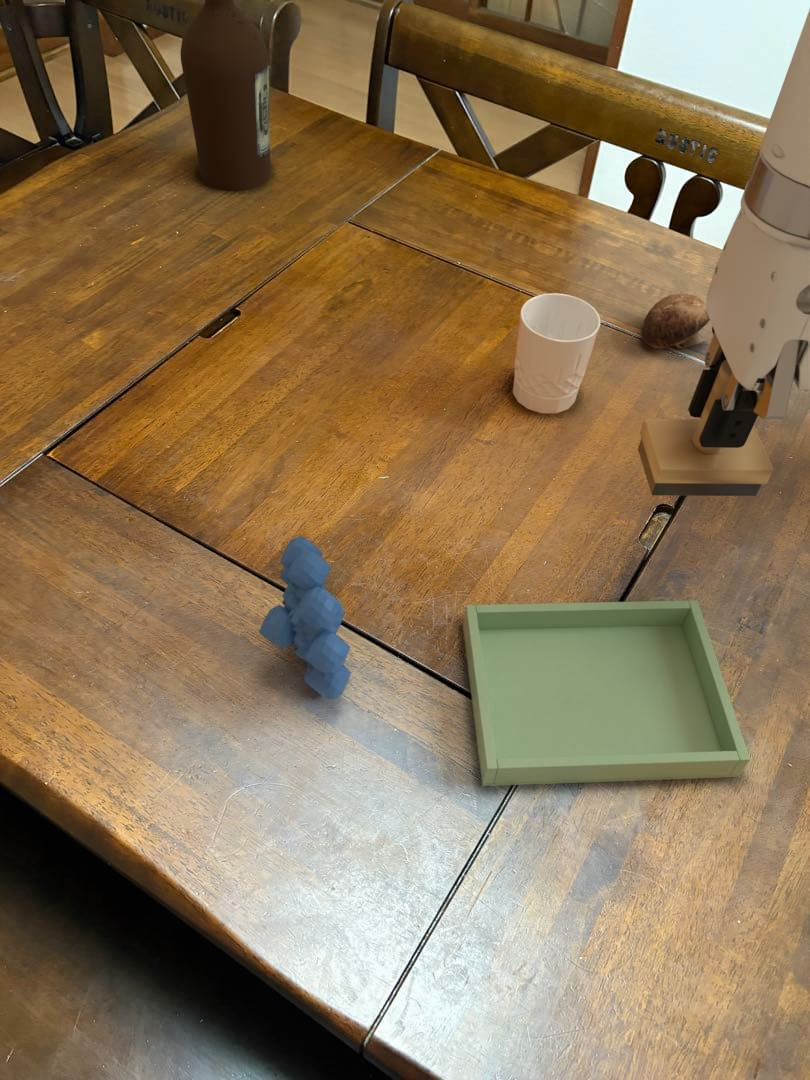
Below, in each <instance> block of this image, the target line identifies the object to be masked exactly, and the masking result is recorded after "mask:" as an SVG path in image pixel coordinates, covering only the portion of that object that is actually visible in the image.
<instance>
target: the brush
mask: <svg viewBox="0 0 810 1080" xmlns="http://www.w3.org/2000/svg"><path fill="white" fill-rule="evenodd" d="M731 373H732V370H731V368H730V366H729V364H728V361H727V359H726V360H725V361H723V362H722V364H721V367H720V369H719V372H718V374H717V377H716V379H715V382H714V384H713V387H712V389H711V392H710V394H709V397H708V399H707V402H706V404H705V407H704V409H703V412H702V414H701V417H700V418H644V419H643V422H642V425H641V428H640V431H639V435H640V438H641V439H640V441H639V444H638V447H637V450H638V455H639V457H640V460H641V465H642V467H643V471H644V474H645V478H646V481H647V484H648V487H649V491H650V494H651V496H681V497H682V496H683V497H684V496H686V497H687V496H688V497H689V496H693V497H694V496H695V497H697V496H698V497H699V496H701V497H704V496H705V497H727V496H728V497H757V495H758V493H759V491H760V489H761V487H762V485H767V484H768V482H769V480H770V478H771V476H772V474H773V472H774V468H773V465H772V463H771V461H770V459H769V455H768V454H767V451H766V449H765V447H764V444H763V441H762V440H761V437H760V435H759V433H758V431H757V428H756V426H755V424H754V426H753V428H752V430H751V432H750V434H749V436H748V439H747V441H746V443H745V445H744V446H742V447H740V448H714V447H702V446H701V444H700V441H699V438H700V436H701V433H702V431H703V428H704V426H705V424H706V421H707V419H708V416H709V414H710V411H711V409H712V406H713V404H714V401H715V400H718V399H722V397H723V394H724V391H725V389H726V386H727V384H728V381H729V378H730V376H731ZM746 390H749V389H746V388H745V387H743V389H742V391H746Z"/></svg>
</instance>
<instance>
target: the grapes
mask: <svg viewBox="0 0 810 1080" xmlns="http://www.w3.org/2000/svg"><path fill="white" fill-rule="evenodd" d="M323 555H324V552H323V551H322V550H321V549H320V548H319V547H318V546H317V545H316V544H314V543H313V542H312V541H311V540H309V539H308V538H306V537H304V536H301V535H298V536H296V537H295V538H293V539H291V540H290V541H289V542H288V544H287V546H286V547H285V549H284V551H283V554H282V556H281V559H280V561H279V563H280V564H281V565H282V566H283V568H282V571H281V573H280V576H279V579H280V580H282V581H283V582H284V584H285V585H287V586H286V588H285V590H284V592H283V594H282V598H283V599H282V602H281V604H283V606H282V605H280V604H278V605H276V606H273V607H272V608H270V609H269V611H268V612H267V614H266V615H265V617H264V619H263V621H262V624H261V627H260V630H259V634H260V635H261V636H263V637H264V638H265V639H266V640H267V641H268V642H269V643H270V644H271V645H274V646H276V647H278V648H280V649H283V650H284V649H287V648H289V647H290V646H292V645H293V646H294V649H293V653H294V654H295V655H296V656H297V657H298V658H300V659H302V660H303V661H304V662H305V663H306V668H307V669H306V672H305V674H304V677H303V681H304V683H306V685H308V686H309V687H310V688H311V689H312V690H314V691H315V692H316V693H318V694H319V695H320V696H322V697H324V698H326V699H328V700H331V701H333V700H337V699H338V698H340V696H341V695H342V694H343V693H344V691H345V689H346V688H347V685H348V682H349V680H350V678H351V674H352V672H351V670H349V668H347V667H346V666H345V665H344V664H345V663H346V660H347V657H348V654H349V652H350V649H351V646H350V645H349V644H348V643H347V641H345V640H344V639H343V638H342V637H340V636H339V634H337V633H338V631H339V629H340V627H341V625H342V622H343V620H344V617H345V614H346V611H345V610H344V608H343V603H342V602H341V601H340V600H339V599H338V598H337V597H336V596H335V595H334V594H332V592H330V591H328V590H327V589H326V586H325V583H326V581H327V579H328V576H329V574H330V571H331V570H332V566H331V564H330V563H329V562H328V561H327V560H326V559H324V557H323Z"/></svg>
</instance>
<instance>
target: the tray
mask: <svg viewBox="0 0 810 1080" xmlns="http://www.w3.org/2000/svg"><path fill="white" fill-rule="evenodd" d="M462 630H463V631H462V632H463V640H464V647H465V656H466V665H467V672H468V681H469V688H470V696H471V697H470V698H471V704H472V712H473V721H474V728H475V737H476V745H477V753H478V761H479V769H480V778H481V786H482V787H496V786H522V785H524V786H525V785H526V786H527V785H548V784H549V785H550V784H551V785H553V784H578V783H579V784H581V783H605V782H606V783H607V782H634V781H635V782H636V781H637V782H638V781H661V780H662V781H663V780H689V779H717V778H738V777H739V776H740V775H741V773H742V771H743V770H744V769H745V768H746V766H747V765H748V763H749V762H750V761H751V758H750V755H749V752H748V749H747V745H746V742H745V740H744V737H743V733H742V731H741V728H740V725H739V721H738V719H737V716H736V712H735V709H734V707H733V704H732V701H731V698H730V695H729V691H728V689H727V685H726V683H725V679H724V676H723V673H722V671H721V668H720V665H719V662H718V658H717V655H716V652H715V649H714V647H713V643H712V640H711V637H710V634H709V631H708V628H707V625H706V622H705V619H704V616H703V613H702V611H701V607H700V605H699V601H698V600H697V599H696V600H692V599H691V600H649V601H648V600H645V601H600V602H598V601H596V602H592V601H591V602H550V603H546V602H544V603H503V604H502V603H498V604H496V603H494V604H493V603H492V604H466V605H465V609H464V615H463V621H462Z"/></svg>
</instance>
